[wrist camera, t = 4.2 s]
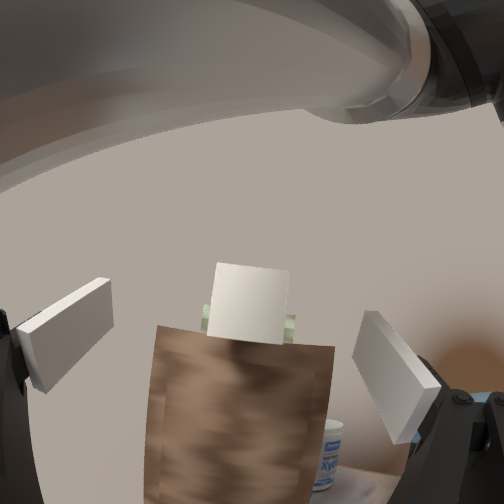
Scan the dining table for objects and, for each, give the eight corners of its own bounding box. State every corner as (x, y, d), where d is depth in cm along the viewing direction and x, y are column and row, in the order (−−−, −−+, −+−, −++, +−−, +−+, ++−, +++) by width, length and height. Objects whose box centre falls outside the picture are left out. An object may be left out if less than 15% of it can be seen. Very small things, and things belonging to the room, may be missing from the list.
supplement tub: (325, 496, 37) (339, 431, 42) (279, 487, 41) (290, 424, 46) (336, 478, 45) (348, 420, 50) (296, 471, 49) (305, 415, 54)
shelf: (273, 528, 26) (305, 322, 37) (283, 584, 13) (337, 308, 24) (172, 516, 27) (192, 308, 37) (147, 567, 13) (163, 287, 24)
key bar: (264, 340, 31) (268, 305, 32) (282, 344, 14) (290, 271, 16) (228, 335, 31) (233, 301, 32) (206, 335, 15) (216, 262, 16)
